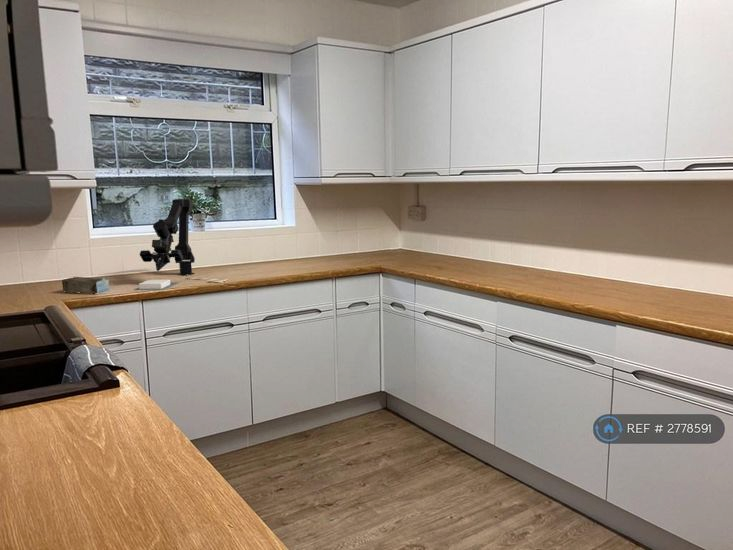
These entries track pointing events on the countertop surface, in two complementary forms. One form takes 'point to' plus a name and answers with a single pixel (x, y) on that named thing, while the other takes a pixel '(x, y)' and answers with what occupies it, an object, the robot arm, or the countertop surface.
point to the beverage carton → (85, 285)
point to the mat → (163, 288)
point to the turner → (207, 279)
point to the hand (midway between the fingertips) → (157, 270)
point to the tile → (154, 284)
